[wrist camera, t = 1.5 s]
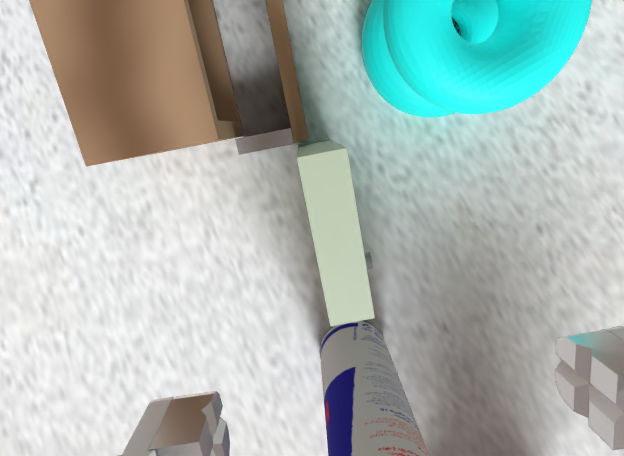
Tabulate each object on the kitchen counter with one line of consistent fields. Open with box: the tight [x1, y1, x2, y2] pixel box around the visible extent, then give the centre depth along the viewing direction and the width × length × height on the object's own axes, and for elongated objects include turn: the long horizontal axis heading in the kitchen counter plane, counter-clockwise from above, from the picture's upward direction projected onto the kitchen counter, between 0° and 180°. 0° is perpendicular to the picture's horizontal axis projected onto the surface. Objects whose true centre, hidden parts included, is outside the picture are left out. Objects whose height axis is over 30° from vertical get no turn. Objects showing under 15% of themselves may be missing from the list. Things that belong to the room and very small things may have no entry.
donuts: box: [362, 0, 592, 117], centre depth 22 cm, size 10×10×10 cm
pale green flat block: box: [297, 140, 375, 326], centre depth 24 cm, size 3×9×11 cm, turn 11°
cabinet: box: [29, 0, 308, 166], centre depth 23 cm, size 12×12×9 cm
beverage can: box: [320, 321, 429, 456], centre depth 26 cm, size 6×6×15 cm
